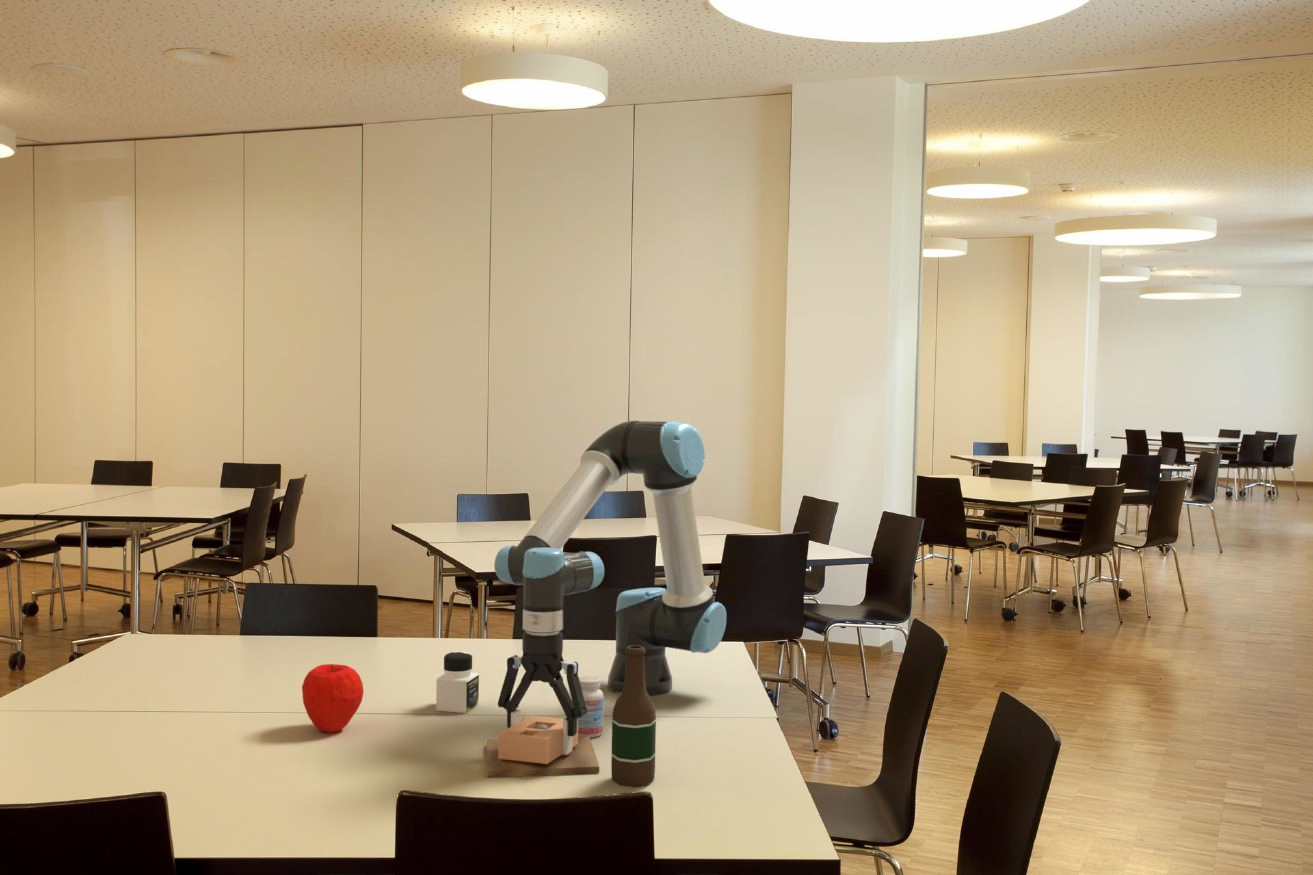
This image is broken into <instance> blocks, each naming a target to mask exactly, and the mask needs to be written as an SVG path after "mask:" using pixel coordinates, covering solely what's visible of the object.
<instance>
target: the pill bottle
mask: <svg viewBox="0 0 1313 875" xmlns="http://www.w3.org/2000/svg"><path fill="white" fill-rule="evenodd" d="M579 681H580V685H581V689H582V693H583V697H584V701H585V705H586V709H587V713H586V714H585V715H583V716H581V717H578V718H577V720H578V737H581V736H589V737H590V739H591V738H597V737H600V736H602V734H603V731H604V730H603V729H604V726H603V725H604V693H603V691H602V689H600V687H601V678H599V677H597V676H589V675H588V676H581V677H579Z"/></svg>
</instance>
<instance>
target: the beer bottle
mask: <svg viewBox="0 0 1313 875" xmlns="http://www.w3.org/2000/svg"><path fill="white" fill-rule="evenodd" d="M624 653H625V654H626V664H625V677H624V686H623V691H622V693H619V694H620V695H619V696H618V698H617V699H616V701H615V703H614V706H613V708H612V718H611V762H610V763H611V764H610V765H611V769H610V771H611V779H612V782H614V783H615V784H617V785H619V786H620V787H627V788H639V787H645V786H649V785H650V784H651V783H652V782H653V781H654V779H655V773H656V740H657V739H656V738H657V737H656V736H657V735H656V733H657V732H656V730H657V716H656V715H657V714H656V707H655V705H654V702H653V699H652V697H651V696H650V695H649V694H648V693H647V690H646V684H645V664H644V654H645V653H646V651H645V648H644V647H642V646H640V645H630V646H628V647H626V649H625V652H624Z"/></svg>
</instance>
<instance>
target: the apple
mask: <svg viewBox="0 0 1313 875" xmlns="http://www.w3.org/2000/svg"><path fill="white" fill-rule="evenodd" d="M301 690H302V692H301V693H302V701H303V706H304V709H305V712H306V714H307V716H308V718H309V720H310V721H311V723H312V725H313V726H314V727H315V728H316V729H317V730H318V731H320V732H322V733H329V734H334V733H338V732H339V731H340V732H341V731H342V730H343V729H344V728H345V727H347V725H348V724H349V723H350V721H351V720H352V718H353V717H354V715H355V714H356V712H358V710H359V707H360V705H361V704H362V701H363V697H364V693H365V692H364V684H363V681H362V679H361V676H360V674H359V672H357V671H356V669H354V668H353V667H350V666H349V665H346V664H345V665H344V664H337V663H329V664H328V663H327V664H319V665H317V666H315V667H314V668H312V669H311V670H309V671H308V673H307V674H306V676H305V677H304V678H303V683H302V685H301Z"/></svg>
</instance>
